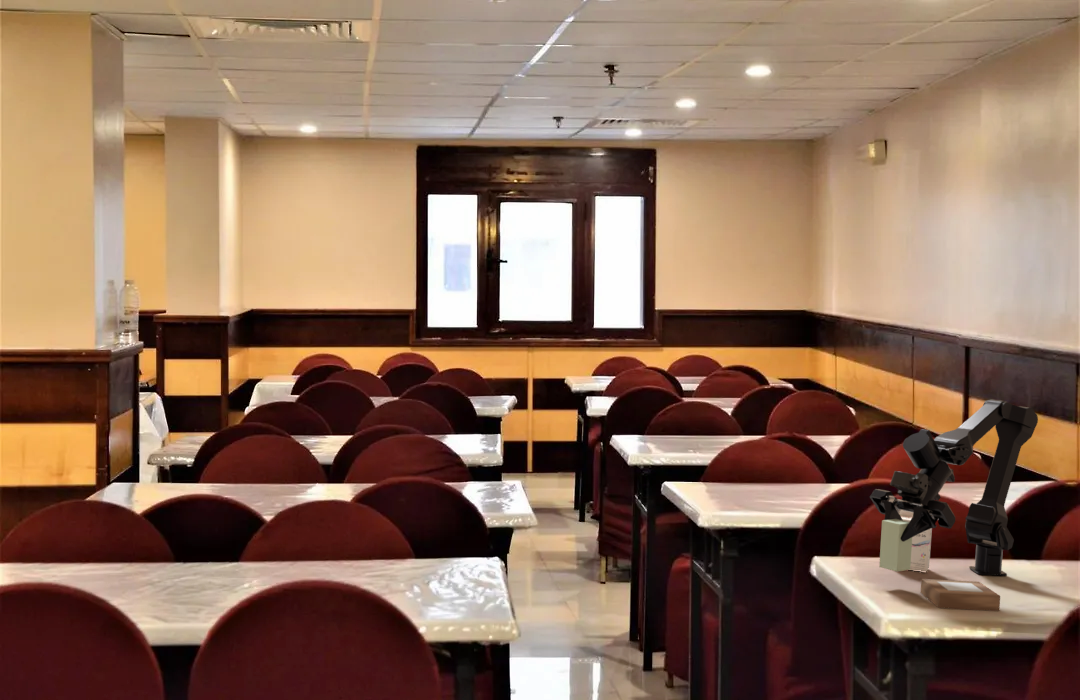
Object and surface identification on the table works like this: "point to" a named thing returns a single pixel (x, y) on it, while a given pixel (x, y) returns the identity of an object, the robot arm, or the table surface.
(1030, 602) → the table surface
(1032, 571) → the table surface
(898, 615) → the table surface
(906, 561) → the sage pillar
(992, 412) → the robot arm
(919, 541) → the ink cartridge box
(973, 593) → the walnut base plate
